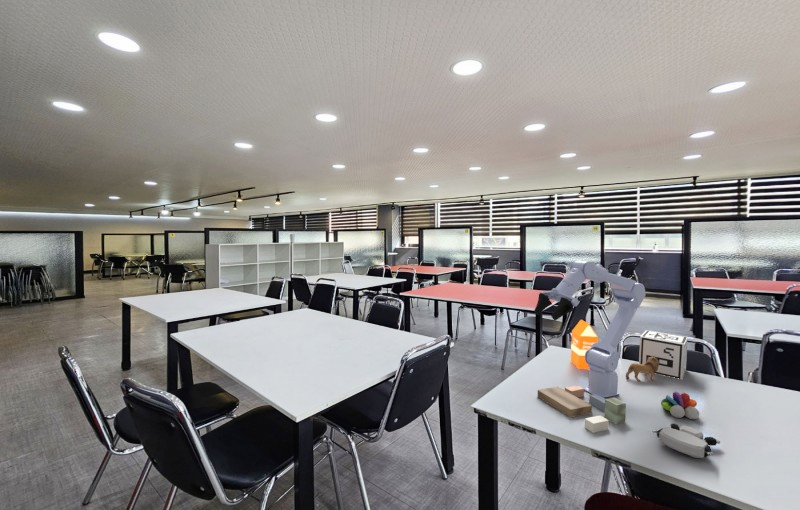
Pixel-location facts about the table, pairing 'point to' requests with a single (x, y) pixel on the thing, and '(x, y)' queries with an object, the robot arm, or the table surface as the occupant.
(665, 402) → the colorful egg cluster
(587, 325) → the orange juice
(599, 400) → the slate brick
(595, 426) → the cream brick
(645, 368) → the lion figurine
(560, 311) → the robot arm
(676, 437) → the robot toy
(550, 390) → the walnut slab
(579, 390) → the terracotta brick
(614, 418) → the sage block
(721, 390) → the table surface
